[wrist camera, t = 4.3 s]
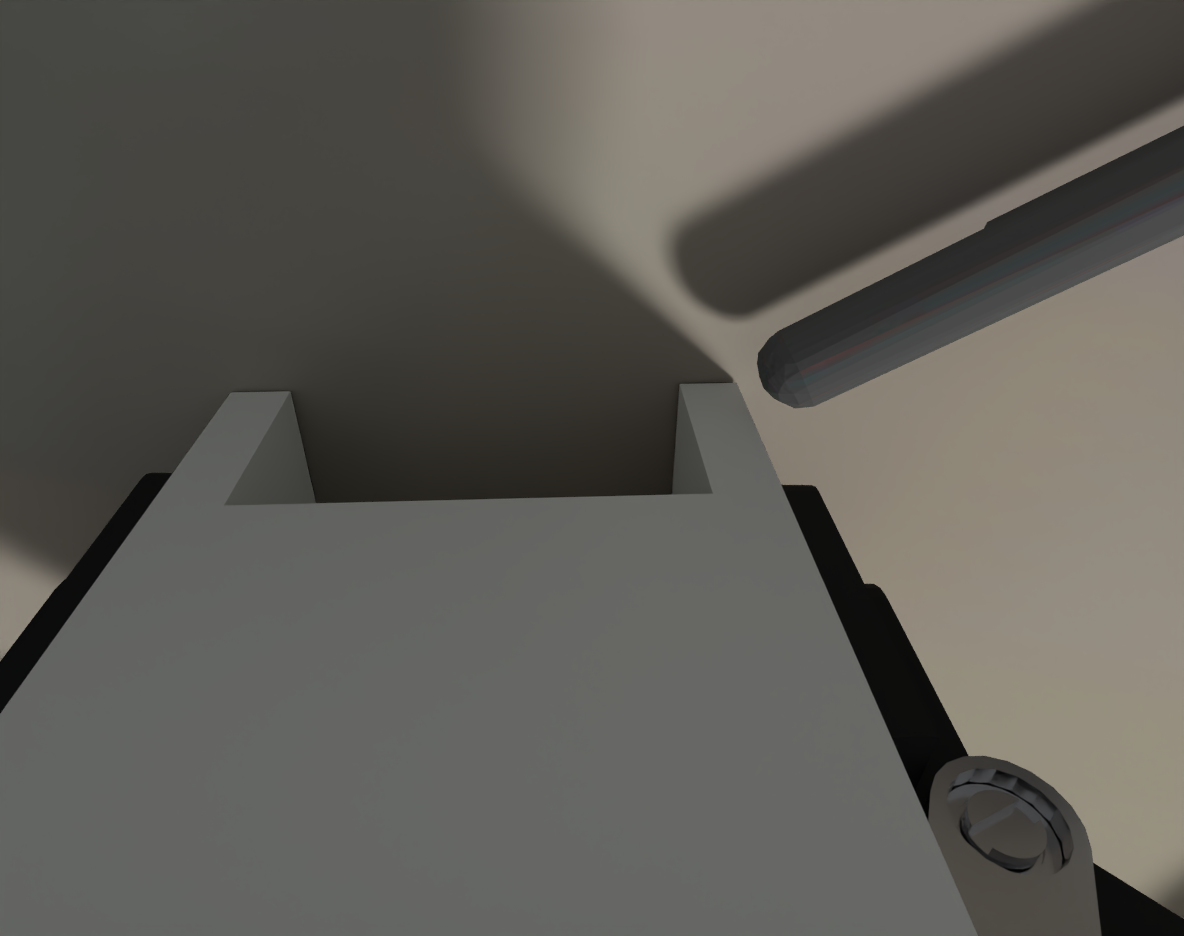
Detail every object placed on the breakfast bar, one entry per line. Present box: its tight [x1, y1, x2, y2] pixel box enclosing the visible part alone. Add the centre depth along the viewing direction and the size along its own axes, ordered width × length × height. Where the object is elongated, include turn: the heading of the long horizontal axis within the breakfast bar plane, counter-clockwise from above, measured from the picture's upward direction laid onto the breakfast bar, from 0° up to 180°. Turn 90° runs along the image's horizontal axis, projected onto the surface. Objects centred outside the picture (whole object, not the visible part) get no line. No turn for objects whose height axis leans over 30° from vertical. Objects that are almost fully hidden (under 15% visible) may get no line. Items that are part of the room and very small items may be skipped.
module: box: [0, 383, 978, 936], centre depth 9 cm, size 6×6×7 cm
